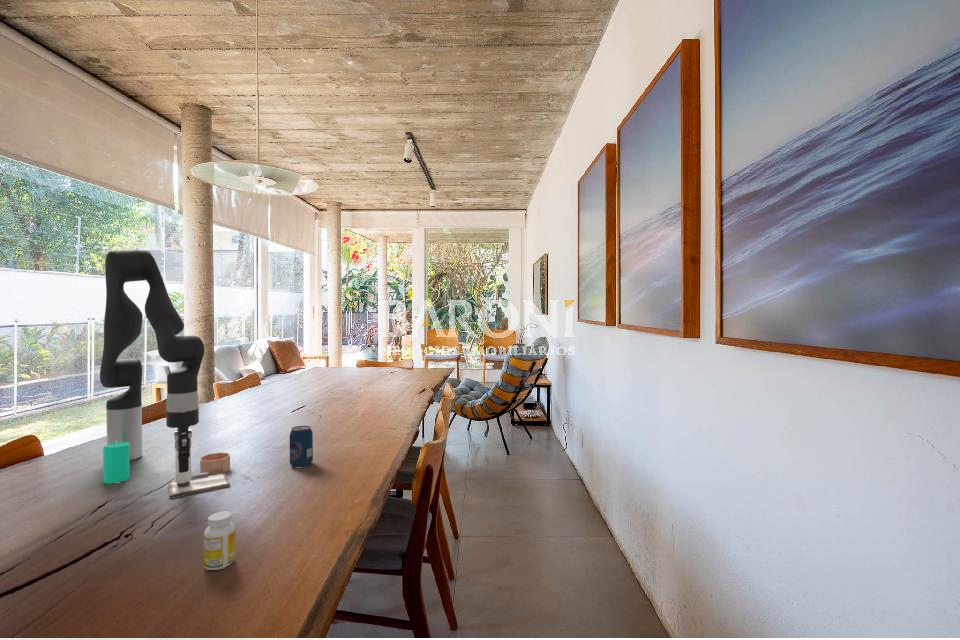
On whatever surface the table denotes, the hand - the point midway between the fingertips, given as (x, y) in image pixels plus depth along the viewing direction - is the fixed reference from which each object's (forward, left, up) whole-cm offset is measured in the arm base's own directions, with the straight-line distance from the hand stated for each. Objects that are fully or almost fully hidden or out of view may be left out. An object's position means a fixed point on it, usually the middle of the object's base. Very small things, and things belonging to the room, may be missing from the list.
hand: (183, 469), depth 123 cm
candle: (-19, -15, -6) cm, 25 cm away
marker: (0, 0, -4) cm, 4 cm away
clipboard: (0, +4, -5) cm, 7 cm away
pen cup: (-11, +9, -5) cm, 15 cm away
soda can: (-1, +32, -6) cm, 32 cm away
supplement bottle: (+48, +4, -6) cm, 48 cm away
